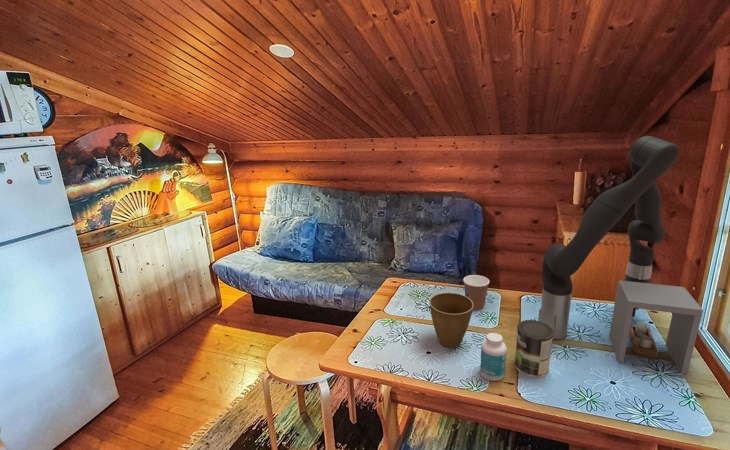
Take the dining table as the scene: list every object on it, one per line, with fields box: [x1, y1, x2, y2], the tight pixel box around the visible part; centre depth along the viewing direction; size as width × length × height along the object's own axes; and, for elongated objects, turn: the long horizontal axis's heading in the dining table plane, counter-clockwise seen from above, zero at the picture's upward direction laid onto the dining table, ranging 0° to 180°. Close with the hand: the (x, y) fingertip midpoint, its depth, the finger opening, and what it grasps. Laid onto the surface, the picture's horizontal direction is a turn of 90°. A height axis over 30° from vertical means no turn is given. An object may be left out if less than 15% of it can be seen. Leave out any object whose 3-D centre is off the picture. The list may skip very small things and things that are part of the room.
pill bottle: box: [479, 332, 508, 382], centre depth 119 cm, size 8×7×14 cm
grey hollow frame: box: [608, 279, 704, 375], centre depth 123 cm, size 15×18×22 cm
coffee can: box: [514, 319, 554, 378], centre depth 121 cm, size 10×10×14 cm
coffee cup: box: [463, 274, 490, 311], centre depth 159 cm, size 10×10×12 cm
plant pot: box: [429, 292, 474, 349], centre depth 135 cm, size 15×15×16 cm
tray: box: [628, 321, 659, 360], centre depth 130 cm, size 14×6×5 cm, turn 154°
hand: (630, 315), depth 145 cm, fingers closed
